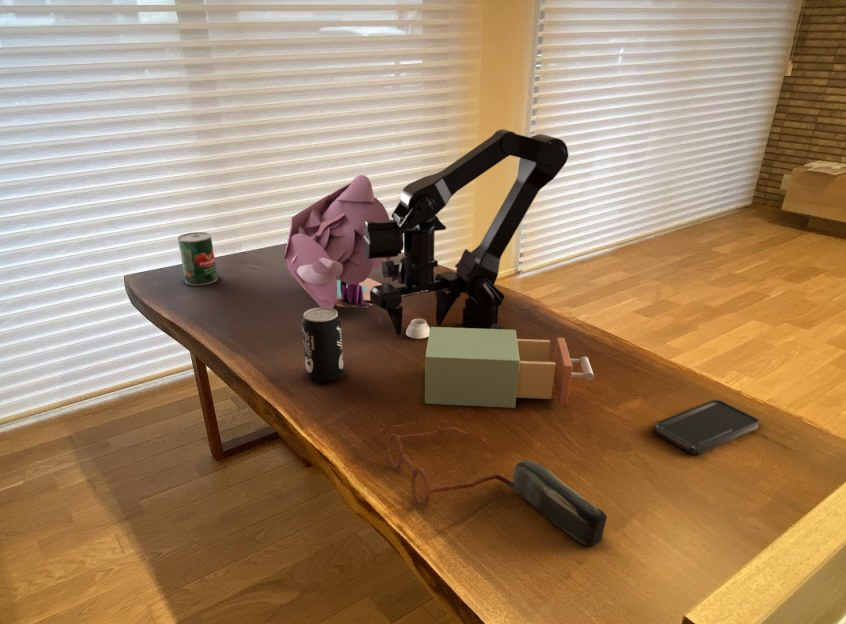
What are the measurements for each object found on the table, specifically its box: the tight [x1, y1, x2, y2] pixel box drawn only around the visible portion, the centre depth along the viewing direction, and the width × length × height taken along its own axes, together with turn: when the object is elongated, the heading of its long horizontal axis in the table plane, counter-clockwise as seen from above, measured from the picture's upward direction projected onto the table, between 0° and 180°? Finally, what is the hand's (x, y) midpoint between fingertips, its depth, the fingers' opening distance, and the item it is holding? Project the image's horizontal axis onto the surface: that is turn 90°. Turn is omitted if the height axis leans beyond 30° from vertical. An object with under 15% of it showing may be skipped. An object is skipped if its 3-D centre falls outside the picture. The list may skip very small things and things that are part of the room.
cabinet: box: [424, 326, 520, 409], centre depth 103 cm, size 15×12×9 cm
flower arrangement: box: [284, 174, 392, 309], centre depth 138 cm, size 35×24×28 cm
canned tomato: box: [176, 231, 219, 287], centre depth 151 cm, size 8×8×11 cm
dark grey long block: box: [504, 459, 608, 547], centre depth 76 cm, size 5×3×15 cm
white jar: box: [405, 318, 430, 340], centre depth 123 cm, size 5×3×5 cm
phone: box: [653, 399, 760, 456], centre depth 93 cm, size 8×1×15 cm
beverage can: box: [301, 306, 345, 385], centre depth 106 cm, size 7×7×12 cm
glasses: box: [386, 426, 513, 507], centre depth 83 cm, size 13×13×5 cm
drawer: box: [516, 337, 595, 404], centre depth 102 cm, size 18×10×7 cm, turn 84°
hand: (418, 329), depth 123 cm, fingers open, 9 cm apart
